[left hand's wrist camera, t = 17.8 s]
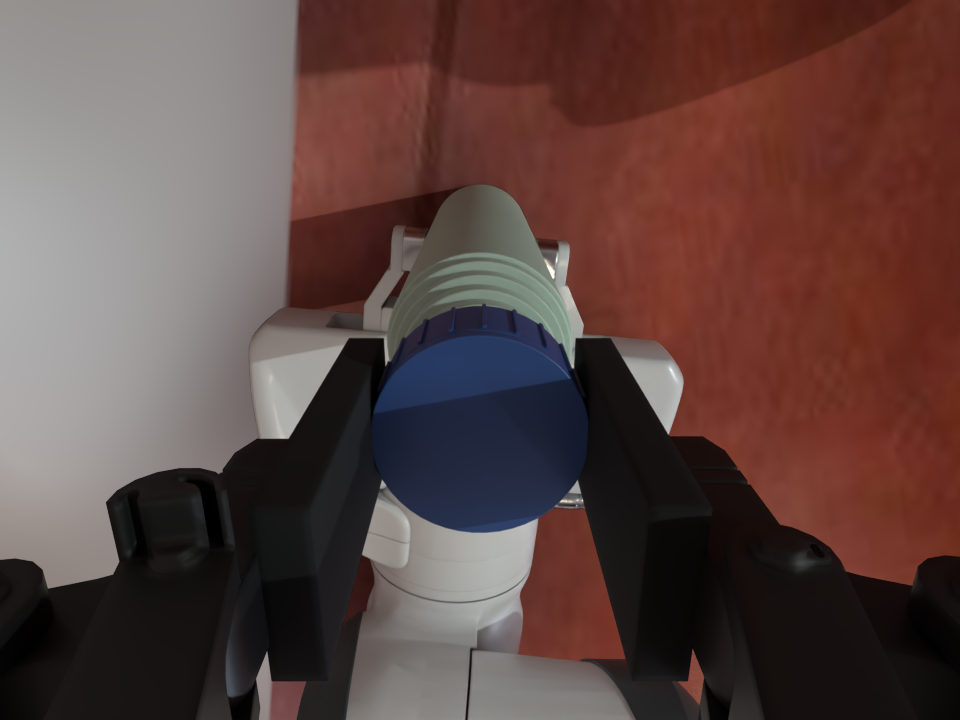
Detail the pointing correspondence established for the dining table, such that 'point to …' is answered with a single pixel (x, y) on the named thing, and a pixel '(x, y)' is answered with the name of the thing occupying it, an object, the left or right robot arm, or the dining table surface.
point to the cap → (480, 421)
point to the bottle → (479, 267)
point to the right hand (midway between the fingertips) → (480, 234)
